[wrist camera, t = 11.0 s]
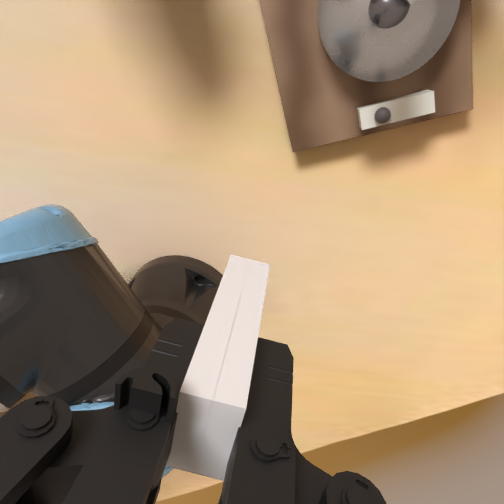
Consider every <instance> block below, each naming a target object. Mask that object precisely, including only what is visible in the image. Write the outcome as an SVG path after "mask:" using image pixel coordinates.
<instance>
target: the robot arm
mask: <svg viewBox="0 0 504 504" xmlns="http://www.w3.org/2000/svg"><path fill="white" fill-rule="evenodd" d="M97 243H98V240H97V239H96V238H94V237H92V236H91V235H90V234H89V233H88V232H87V230H86V229H85V228H84V227H83V226H82V224H81V223H80V222H79V221H78V220H77V218H76V217H75V216H74V215H73V214H72V213H71V212H70V211H69V210H68V209H66V208H64V207H62V206H59V205H44V206H40V207H37V208H34V209H31V210H29V211H26V212H23V213H21V214H18V215H15V216H13V217H10V218H8V219H5V220H3V221H0V412H2V411H6V410H8V409H9V408H11V407H12V406H13V405H15V404H16V403H17V402H18V401H19V400H21V399H22V398H23V397H24V396H25V395H26V394H28V393H29V392H31V393H32V394H33V395H34V396H35V397H34V398H31V399H28V400H25V401H23V402H21V403H20V404H18V405H16V406H15V407H13V408H12V409H11V410H9V411H8V412H7V413H6V414H5V415H3V416H2V417H1V418H0V504H155V502H156V499H157V496H158V493H159V490H160V484H161V478H162V477H164V476H165V475H166V474H168V473H169V472H170V471H171V470H172V469H173V468H176V469H180V470H184V471H188V472H192V473H196V474H199V475H203V476H207V477H211V478H215V479H219V480H223V481H224V483H223V488H222V493H221V496H220V500H219V503H218V504H386V502H385V500H384V498H383V496H382V495H381V493H380V491H379V490H378V489H377V488H376V487H375V485H374V484H373V483H372V482H371V481H370V480H368V479H366V478H365V477H363V476H361V475H360V474H358V473H353V472H349V471H345V472H340V473H336V474H335V475H334V476H333V477H332V476H330V475H329V474H327V473H326V472H324V471H322V470H321V469H319V468H317V467H316V466H314V465H313V464H311V463H310V462H309V461H307V460H306V459H305V458H304V457H303V456H302V455H301V453H300V452H299V451H298V449H297V448H296V446H295V444H294V441H293V439H292V434H291V413H292V383H293V375H292V374H293V356H292V354H291V352H290V350H289V347H288V345H286V344H282V343H278V342H275V341H271V340H267V339H263V338H259V337H258V334H259V328H260V322H261V316H262V310H263V304H264V298H265V292H266V286H267V280H268V274H269V268H270V264H267V263H263V262H259V261H255V260H251V259H247V258H243V257H239V256H236V255H232V254H231V256H230V258H229V261H228V264H227V266H226V269H225V272H224V274H223V275H222V274H221V273H219V272H218V271H217V270H216V269H214V268H213V267H211V266H210V265H208V264H206V263H204V262H202V261H200V260H197V259H194V258H190V257H186V256H164V257H160V258H157V259H154V260H152V261H150V262H148V263H146V264H145V265H144V266H142V267H141V268H140V269H139V270H138V272H137V273H136V274H135V276H134V277H133V278H132V279H131V281H130V282H129V284H127V283H126V281H125V280H124V279H123V277H122V276H121V275H120V273H119V272H118V271H117V269H116V268H115V267H114V265H113V264H112V263H111V261H110V260H109V259H108V257H107V256H106V255H105V253H104V252H103V251H102V249H101V248H100V247H99V245H98V244H97Z"/></svg>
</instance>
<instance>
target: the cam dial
mask: <svg viewBox="0 0 504 504" xmlns="http://www.w3.org/2000/svg"><path fill="white" fill-rule="evenodd" d="M459 6H460V0H319V4H318V29H319V34H320V38H321V41H322V44H323V47H324V49H325V51H326V53H327V54H328V56H329V57H330V59H331V60H332V61H333V62H334V64H335V65H336V66H337V67H339V68H340V69H341V70H342V71H344V72H345V73H347V74H348V75H351V76H353V77H355V78H358V79H361V80H365V81H371V82H385V81H391V80H395V79H398V78H402V77H404V76H406V75H408V74H410V73H412V72H414V71H415V70H417V69H419V68H420V67H421V66H423V65H424V64H425V63H427V62H428V61H429V60H430V59H431V58H432V57H433V56H434V55H435V54H436V52H437V51H438V50H439V49H440V48H441V46H442V45H443V43H444V42H445V40H446V39H447V37H448V35H449V33H450V32H451V30H452V27H453V25H454V23H455V20H456V17H457V14H458V10H459Z"/></svg>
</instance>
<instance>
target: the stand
mask: <svg viewBox="0 0 504 504" xmlns="http://www.w3.org/2000/svg"><path fill="white" fill-rule="evenodd" d="M260 4H261V8H262V13H263V17H264V22H265V27H266V31H267V36H268V40H269V45H270V49H271V54H272V59H273V63H274V68H275V72H276V77H277V82H278V86H279V91H280V95H281V100H282V105H283V109H284V114H285V118H286V123H287V127H288V132H289V137H290V141H291V146H292V150H293V152H296V151H300V150H304V149H309V148H313V147H317V146H321V145H325V144H329V143H333V142H338V141H342V140H346V139H350V138H354V137H358V136H362V135H367V134H371V133H375V132H379V131H383V130H387V129H391V128H396V127H400V126H404V125H408V124H412V123H416V122H420V121H424V120H429V119H433V118H437V117H441V116H445V115H449V114H453V113H458V112H462V111H466V110H470V109H473V85H472V31H471V0H460V6H459V10H458V14H457V17H456V20H455V23H454V25H453V27H452V30H451V32H450V33H449V35H448V37H447V39H446V40H445V42H444V43H443V45H442V46H441V48H440V49H439V50H438V51H437V52H436V54H435V55H434V56H433V57H432V58H431V59H430V60H429V61H428V62H427V63H425V64H424V65H423V66H421V67H420V68H419V69H417V70H415V71H414V72H412V73H410V74H408V75H406V76H404V77H402V78H398V79H395V80H391V81H385V82H371V81H365V80H361V79H358V78H355V77H353V76H351V75H348V74H347V73H345V72H344V71H342V70H341V69H340V68H339V67H337V66H336V65H335V64H334V62H333V61H332V60H331V59H330V57H329V56H328V54H327V53H326V51H325V49H324V47H323V44H322V41H321V38H320V34H319V29H318V4H319V0H260Z"/></svg>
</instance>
